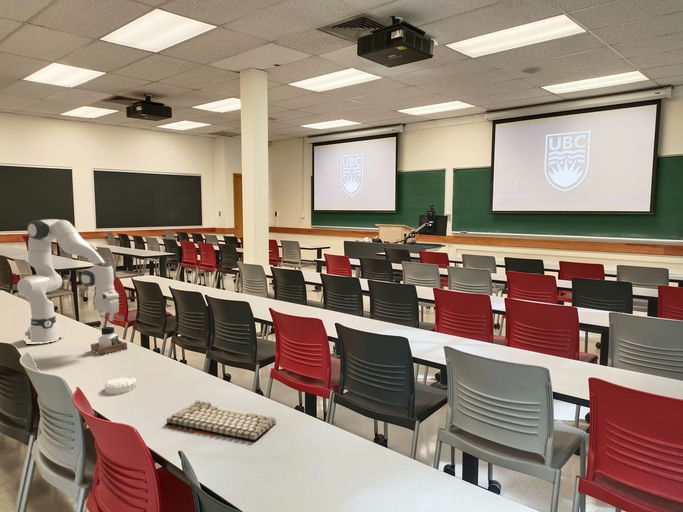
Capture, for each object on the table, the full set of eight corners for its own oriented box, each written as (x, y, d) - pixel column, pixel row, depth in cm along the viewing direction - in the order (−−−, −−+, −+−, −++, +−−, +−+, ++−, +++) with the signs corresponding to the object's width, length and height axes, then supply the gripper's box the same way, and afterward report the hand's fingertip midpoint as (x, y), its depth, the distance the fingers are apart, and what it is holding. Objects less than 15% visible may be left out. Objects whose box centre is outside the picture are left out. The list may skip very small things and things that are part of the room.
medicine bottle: (112, 351, 249) (110, 328, 248) (99, 351, 250) (97, 328, 248) (119, 346, 256) (117, 325, 255) (106, 347, 257) (104, 325, 255)
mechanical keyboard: (282, 420, 169) (281, 411, 168) (254, 447, 151) (253, 437, 151) (194, 406, 182) (194, 398, 182) (159, 429, 164) (159, 420, 164)
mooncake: (102, 388, 200) (101, 380, 200) (131, 381, 208) (131, 373, 207) (109, 397, 191) (108, 388, 191) (140, 389, 199) (139, 381, 198)
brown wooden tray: (91, 350, 252) (90, 344, 252) (115, 345, 262) (114, 338, 262) (102, 355, 244) (102, 348, 244) (127, 349, 254) (126, 342, 254)
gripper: (90, 292, 254) (91, 317, 255) (108, 296, 241) (109, 323, 243) (102, 290, 259) (103, 315, 260) (120, 295, 246) (121, 321, 248)
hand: (106, 319), depth 251 cm, fingers open, 8 cm apart
